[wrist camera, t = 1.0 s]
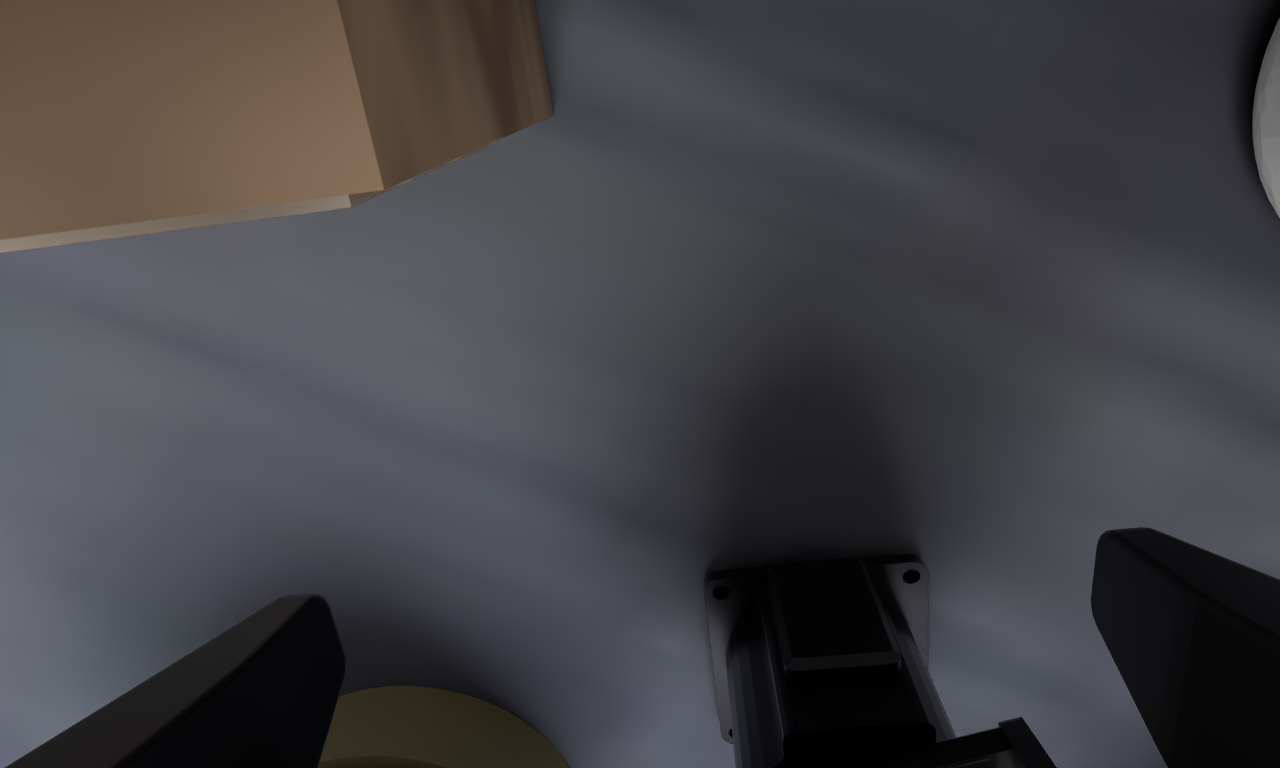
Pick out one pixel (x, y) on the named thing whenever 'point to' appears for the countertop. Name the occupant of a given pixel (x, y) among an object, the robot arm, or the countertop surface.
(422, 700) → the piston
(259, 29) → the brown rectangular block
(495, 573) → the countertop surface
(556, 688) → the countertop surface
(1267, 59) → the supplement tub
